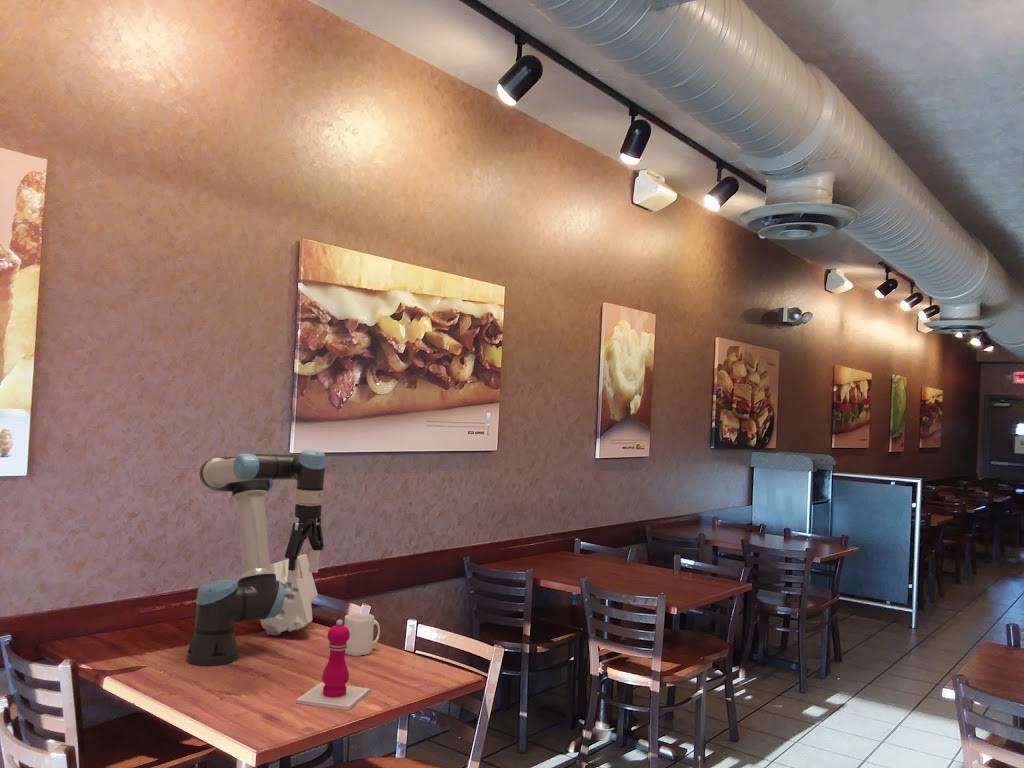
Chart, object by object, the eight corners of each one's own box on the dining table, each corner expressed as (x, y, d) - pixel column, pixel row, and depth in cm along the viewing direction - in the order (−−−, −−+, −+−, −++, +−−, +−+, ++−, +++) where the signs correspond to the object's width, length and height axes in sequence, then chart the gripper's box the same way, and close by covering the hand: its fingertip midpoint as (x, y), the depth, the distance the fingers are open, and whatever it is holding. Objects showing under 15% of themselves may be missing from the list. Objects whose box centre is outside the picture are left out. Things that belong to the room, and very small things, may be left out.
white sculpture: (310, 633, 272) (290, 562, 274) (265, 647, 272) (245, 575, 274) (325, 619, 292) (306, 553, 294) (283, 632, 292) (265, 566, 294)
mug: (336, 651, 262) (339, 615, 263) (366, 645, 271) (368, 610, 272) (354, 658, 256) (356, 621, 257) (384, 652, 265) (386, 616, 265)
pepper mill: (324, 699, 215) (329, 623, 216) (318, 690, 221) (323, 617, 222) (350, 696, 218) (356, 622, 219) (344, 688, 225) (349, 615, 226)
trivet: (296, 703, 214) (296, 699, 214) (320, 686, 228) (320, 682, 229) (348, 710, 211) (348, 706, 211) (370, 692, 225) (370, 688, 225)
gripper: (301, 510, 221) (295, 587, 221) (338, 500, 246) (332, 569, 245) (276, 507, 223) (270, 584, 222) (315, 498, 247) (309, 567, 247)
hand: (302, 576), depth 234 cm, fingers open, 13 cm apart
